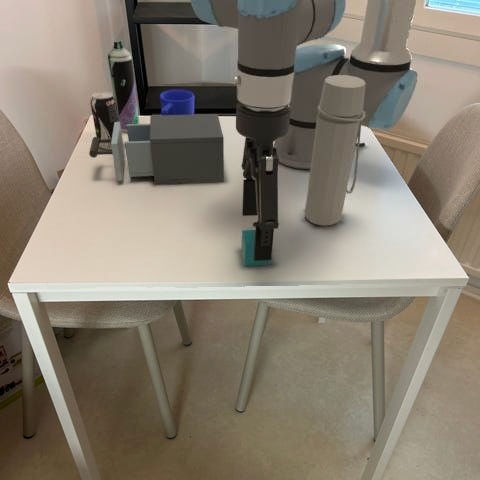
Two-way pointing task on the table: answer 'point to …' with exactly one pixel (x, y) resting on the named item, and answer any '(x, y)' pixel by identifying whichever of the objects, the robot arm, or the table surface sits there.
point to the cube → (250, 249)
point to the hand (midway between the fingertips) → (255, 235)
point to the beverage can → (104, 116)
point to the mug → (177, 102)
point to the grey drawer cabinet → (187, 148)
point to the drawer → (128, 150)
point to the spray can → (123, 85)
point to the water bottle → (334, 148)
